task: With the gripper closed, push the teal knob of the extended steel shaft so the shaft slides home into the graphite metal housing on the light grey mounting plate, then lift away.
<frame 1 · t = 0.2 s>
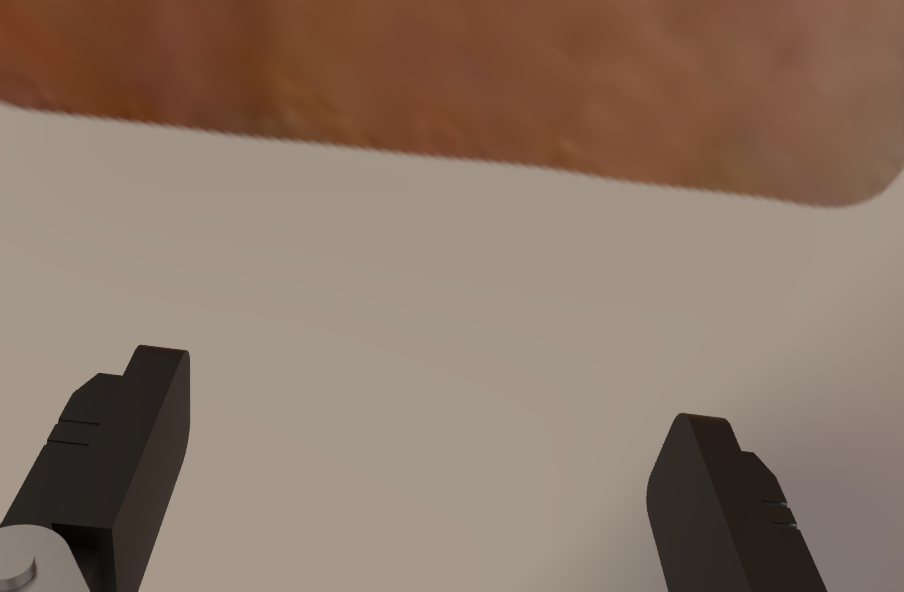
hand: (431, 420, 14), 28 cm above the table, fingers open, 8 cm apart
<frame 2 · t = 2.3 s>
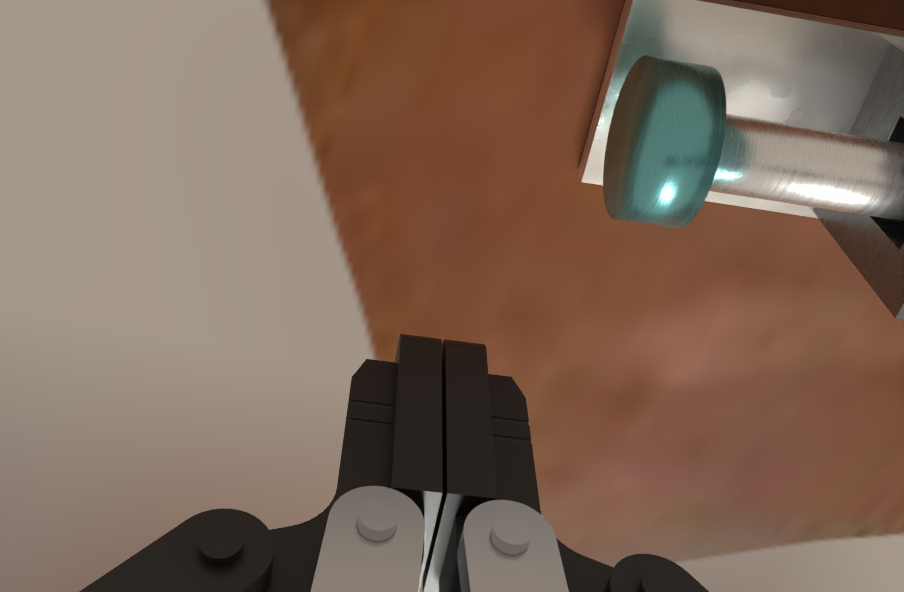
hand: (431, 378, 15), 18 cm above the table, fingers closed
shaft: (833, 171, 27), point 5 cm above the table, slide at 5.0 cm
shaft housing: (826, 119, 31), on the table
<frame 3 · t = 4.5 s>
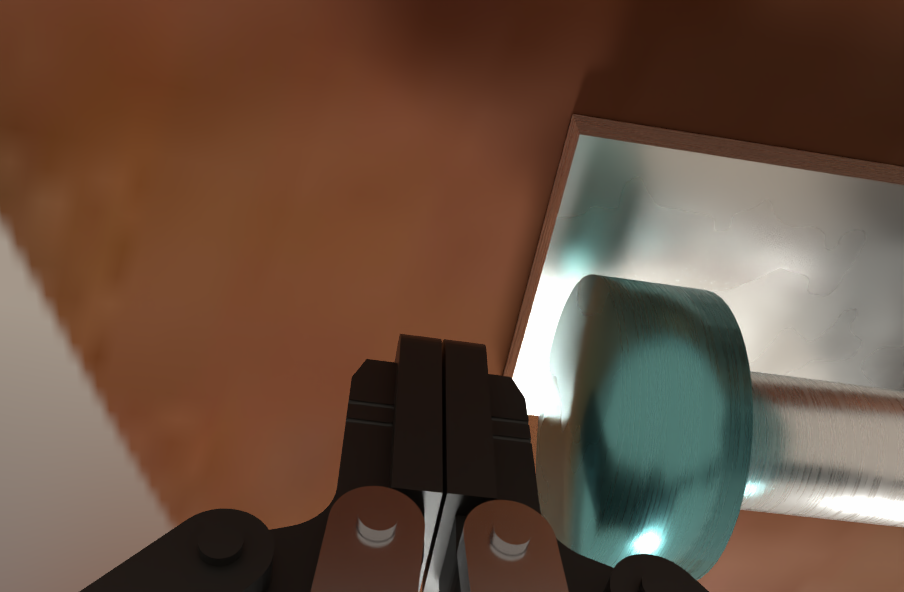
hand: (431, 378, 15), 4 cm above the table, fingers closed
shaft housing: (891, 312, 19), on the table
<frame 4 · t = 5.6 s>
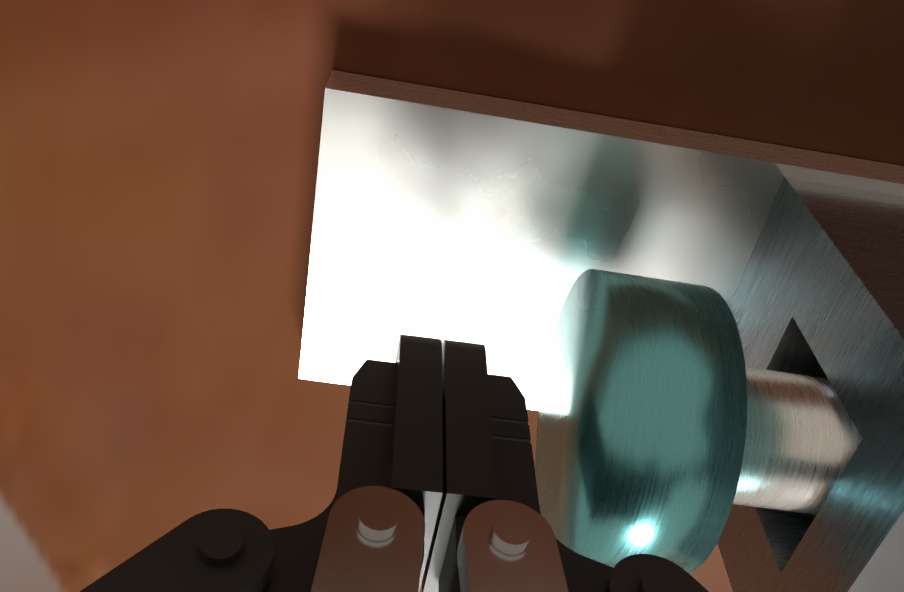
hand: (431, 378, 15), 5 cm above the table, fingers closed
shaft housing: (693, 282, 19), on the table
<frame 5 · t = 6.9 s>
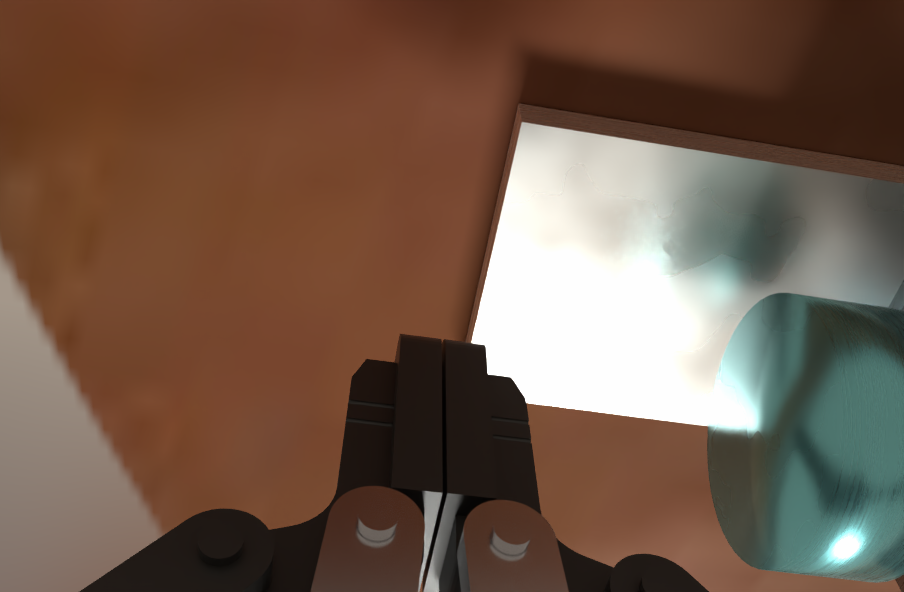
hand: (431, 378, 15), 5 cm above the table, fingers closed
shaft housing: (839, 300, 20), on the table
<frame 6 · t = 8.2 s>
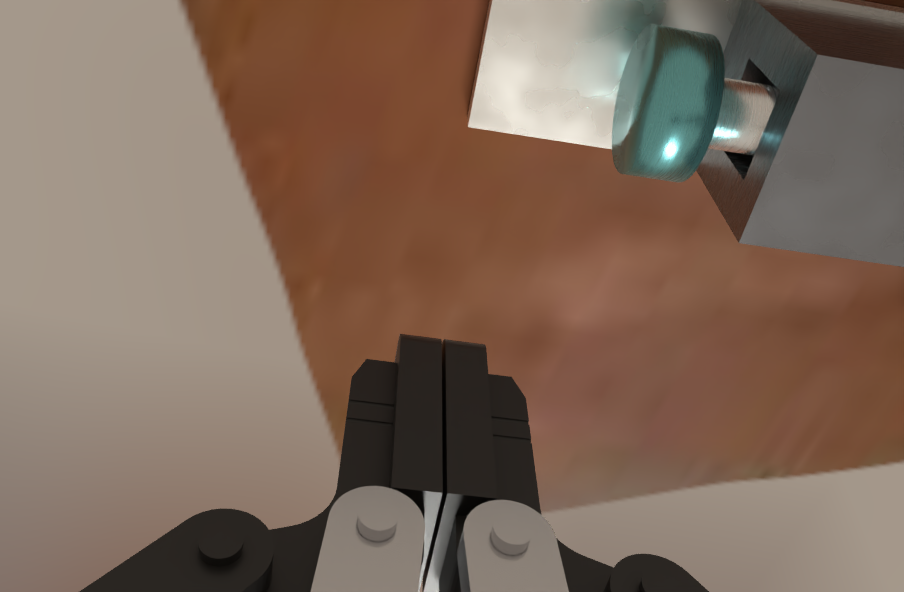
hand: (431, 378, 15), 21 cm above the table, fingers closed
shaft: (821, 130, 29), point 5 cm above the table, slide at 0.0 cm
shaft housing: (695, 67, 33), on the table
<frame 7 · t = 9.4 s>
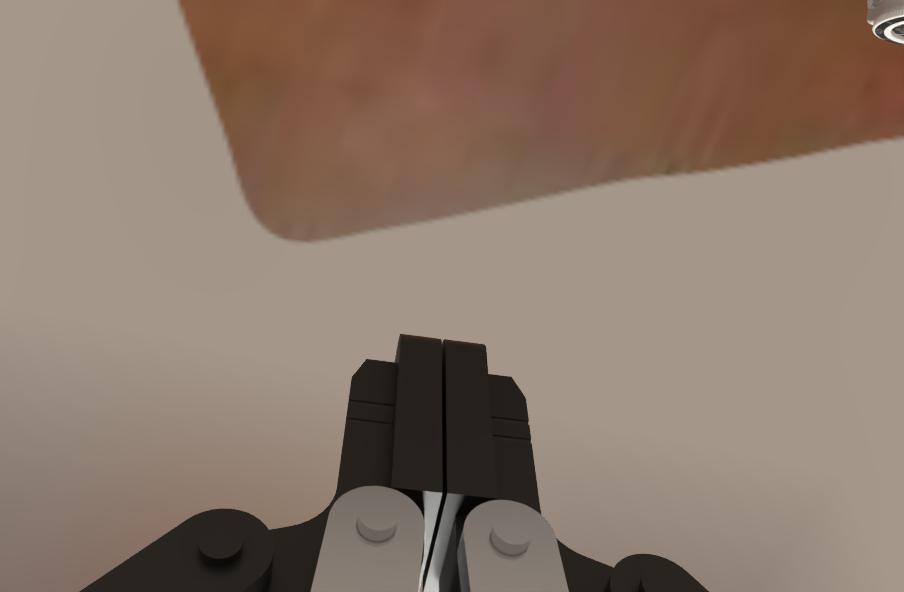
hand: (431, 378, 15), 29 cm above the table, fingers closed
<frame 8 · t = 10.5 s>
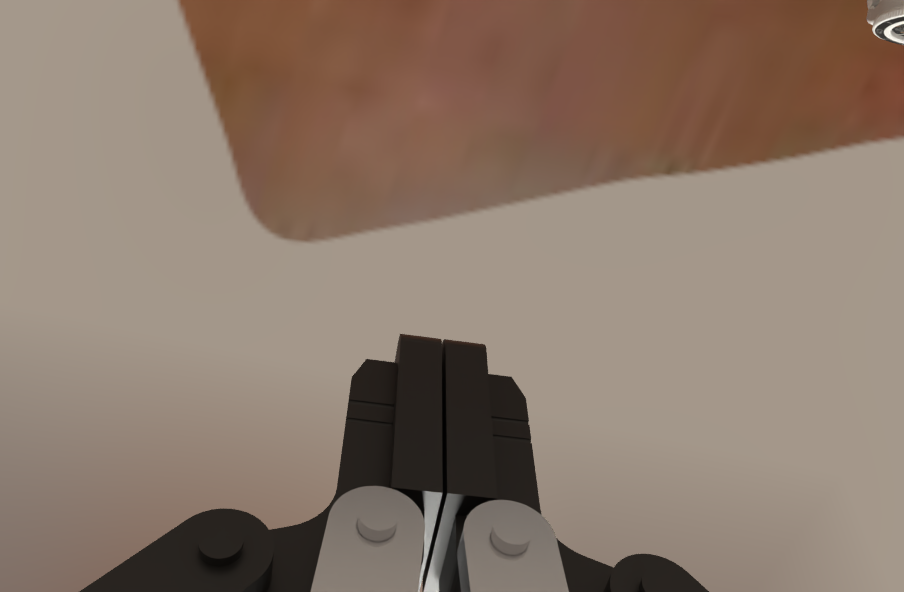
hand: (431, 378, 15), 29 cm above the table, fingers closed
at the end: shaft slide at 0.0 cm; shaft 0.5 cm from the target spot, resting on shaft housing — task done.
